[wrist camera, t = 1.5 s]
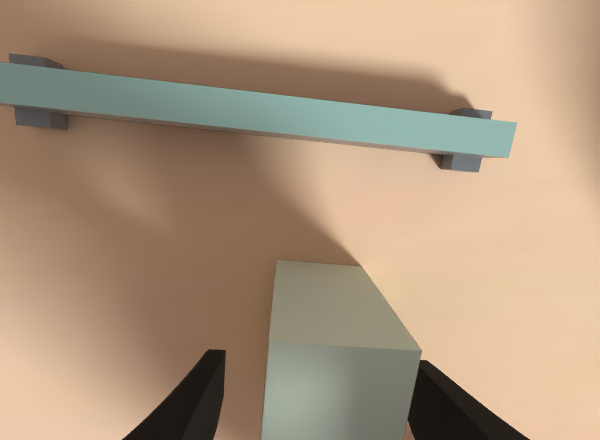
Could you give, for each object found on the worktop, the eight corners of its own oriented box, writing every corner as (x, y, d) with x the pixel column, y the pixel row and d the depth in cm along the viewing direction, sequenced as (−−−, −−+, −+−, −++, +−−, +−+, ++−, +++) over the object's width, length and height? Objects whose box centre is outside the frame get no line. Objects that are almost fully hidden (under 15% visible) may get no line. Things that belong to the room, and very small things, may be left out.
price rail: (466, 171, 12) (504, 174, 10) (35, 127, 11) (-25, 119, 9) (478, 114, 12) (521, 104, 10) (29, 61, 11) (-37, 36, 8)
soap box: (342, 391, 15) (380, 546, 9) (264, 388, 14) (251, 545, 9) (361, 265, 13) (421, 350, 7) (276, 259, 13) (268, 341, 7)
